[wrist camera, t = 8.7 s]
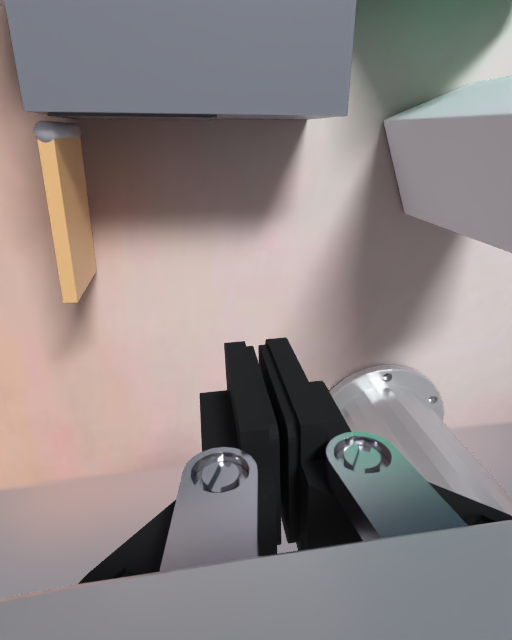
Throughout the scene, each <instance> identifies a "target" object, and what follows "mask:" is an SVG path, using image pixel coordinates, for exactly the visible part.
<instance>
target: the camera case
mask: <svg viewBox="0 0 512 640" xmlns="http://www.w3.org/2000/svg"><path fill="white" fill-rule="evenodd" d="M356 1H357V0H0V4H1V5H2V6H5V8H6V14H7V19H8V25H9V30H10V36H11V41H12V47H13V53H14V58H15V64H16V69H17V75H18V81H19V86H20V92H21V97H22V103H23V108H24V111H26V112H34V113H42V114H48V116H56V117H64V118H73V119H141V120H212V119H215V118H234V119H317V118H328V117H339V116H347V114H348V101H349V89H350V76H351V64H352V51H353V39H354V26H355V14H356Z"/></svg>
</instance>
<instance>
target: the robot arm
mask: <svg viewBox="0 0 512 640" xmlns="http://www.w3.org/2000/svg"><path fill="white" fill-rule="evenodd" d="M224 349H225V364H226V379H227V390H226V391H216V392H207V393H200V412H201V437H202V452H201V453H199V454H197V455H196V456H194V457H193V458H192V459H191V460H190V461H189V462H188V463H187V464H186V466H185V468H184V470H183V473H182V478H181V482H180V486H179V490H178V495H177V499H176V500H175V501H174V502H173V503H171V504H170V505H169V506H168V507H167V508H165V510H163V511H162V512H161V513H160V514H158V515H157V516H156V517H155V518H154V519H152V520H151V521H150V522H149V523H148V524H146V525H145V526H144V527H143V528H142V529H140V530H139V531H138V532H137V533H136V534H134V535H133V536H132V537H131V538H130V539H129V540H127V541H126V542H125V543H124V544H123V545H121V546H120V547H119V548H118V549H117V550H115V551H114V552H113V553H112V554H111V555H110V556H108V557H107V558H106V559H105V560H104V561H102V562H101V563H100V564H99V565H98V566H96V567H95V568H94V569H93V570H92V571H90V572H89V573H88V574H87V575H86V576H85V577H84V578H83V579H82V580H81V581H80V582H79V583H78V584H76V585H70V586H65V587H59V588H54V589H48V590H43V591H38V592H32V593H27V594H21V595H16V596H11V597H6V598H1V599H0V640H512V497H511V496H510V495H509V494H508V493H507V491H506V490H505V489H504V488H503V487H502V486H501V485H500V484H499V483H498V481H497V480H496V479H495V478H494V477H493V476H492V475H491V474H490V473H489V472H488V470H487V469H486V468H485V467H484V466H483V465H482V464H481V463H480V462H479V461H478V459H477V458H476V457H475V456H474V455H473V454H472V453H471V452H470V451H469V450H468V448H467V447H466V446H465V445H464V444H463V443H462V442H461V441H460V440H459V439H458V437H457V436H456V435H455V434H454V433H453V432H452V431H451V430H450V428H449V427H448V426H447V425H446V424H445V423H444V422H443V416H444V409H443V402H442V399H441V396H440V394H439V392H438V390H437V389H436V388H435V386H434V385H433V384H432V383H431V382H430V381H429V380H428V379H427V378H426V377H425V376H424V375H422V374H421V373H419V372H418V371H416V370H414V369H411V368H408V367H406V366H400V365H378V366H373V367H368V368H366V369H363V370H360V371H358V372H355V373H353V374H352V375H350V376H348V377H346V378H345V379H343V380H342V381H341V382H339V383H338V384H337V385H336V386H334V387H333V388H332V389H331V390H330V392H329V390H328V389H327V387H326V385H325V383H324V382H323V381H314V382H309V381H308V379H307V377H306V375H305V373H304V371H303V369H302V367H301V365H300V363H299V361H298V359H297V357H296V355H295V353H294V351H293V349H292V347H291V345H290V343H289V341H288V339H287V338H276V339H266V343H265V345H259V363H258V360H257V357H256V354H255V351H254V347H253V346H246V344H245V341H243V342H231V343H224ZM281 518H282V522H283V526H284V530H285V534H286V538H287V541H288V543H295V542H296V544H297V548H298V551H293V552H286V553H279V554H277V545H280V544H281Z"/></svg>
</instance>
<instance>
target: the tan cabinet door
mask: <svg viewBox="0 0 512 640" xmlns="http://www.w3.org/2000/svg"><path fill="white" fill-rule="evenodd" d="M34 134H35V136H36V137H37V141H38V147H39V154H40V160H41V166H42V172H43V179H44V185H45V191H46V198H47V204H48V210H49V216H50V223H51V229H52V235H53V242H54V248H55V254H56V260H57V267H58V273H59V279H60V286H61V292H62V298H63V303H77V302H78V301H79V299H80V298H81V296H82V294H83V293H84V291H85V289H86V288H87V286H88V284H89V283H90V281H91V279H92V278H93V276H94V274H95V273H96V271H97V269H96V261H95V253H94V245H93V237H92V229H91V221H90V213H89V204H88V196H87V188H86V180H85V172H84V164H83V156H82V148H81V140H80V136H81V130H80V128H79V126H78V125H76V124H74V123H63V122H49V121H40V122H38V123H36V124H35V126H34Z"/></svg>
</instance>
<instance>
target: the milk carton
mask: <svg viewBox="0 0 512 640" xmlns="http://www.w3.org/2000/svg"><path fill="white" fill-rule="evenodd" d="M384 126H385V130H386V135H387V139H388V143H389V148H390V152H391V156H392V161H393V165H394V170H395V174H396V178H397V183H398V187H399V191H400V196H401V200H402V204H403V209H404V213H405V214H407V215H410V216H413V217H415V218H418V219H421V220H424V221H426V222H429V223H432V224H434V225H437V226H440V227H443V228H445V229H448V230H451V231H453V232H456V233H459V234H462V235H464V236H467V237H470V238H473V239H475V240H478V241H481V242H483V243H486V244H489V245H492V246H494V247H497V248H500V249H502V250H505V251H508V252H511V253H512V76H506V77H501V78H495V79H489V80H483V81H477V82H473V83H470V84H467V85H465V86H462V87H460V88H458V89H455V90H453V91H451V92H448V93H446V94H444V95H441V96H439V97H436V98H434V99H432V100H429V101H427V102H425V103H422V104H420V105H417V106H415V107H413V108H410V109H408V110H406V111H403V112H401V113H399V114H396V115H394V116H392V117H389V118H387V119H385V120H384Z"/></svg>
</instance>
